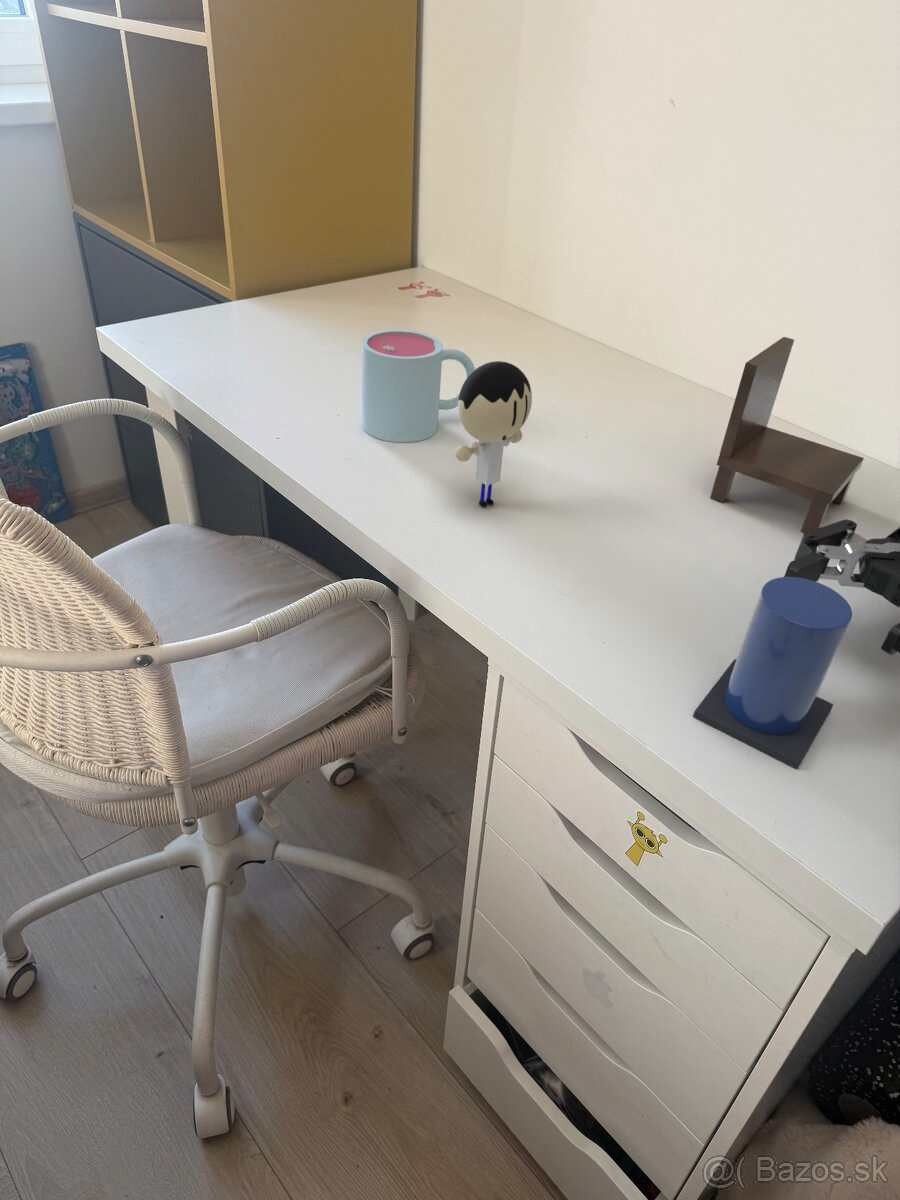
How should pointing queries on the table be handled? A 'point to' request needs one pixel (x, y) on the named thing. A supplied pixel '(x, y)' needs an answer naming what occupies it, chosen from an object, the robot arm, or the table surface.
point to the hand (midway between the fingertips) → (837, 609)
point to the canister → (786, 654)
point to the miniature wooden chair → (779, 444)
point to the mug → (404, 384)
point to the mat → (777, 746)
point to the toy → (492, 417)
